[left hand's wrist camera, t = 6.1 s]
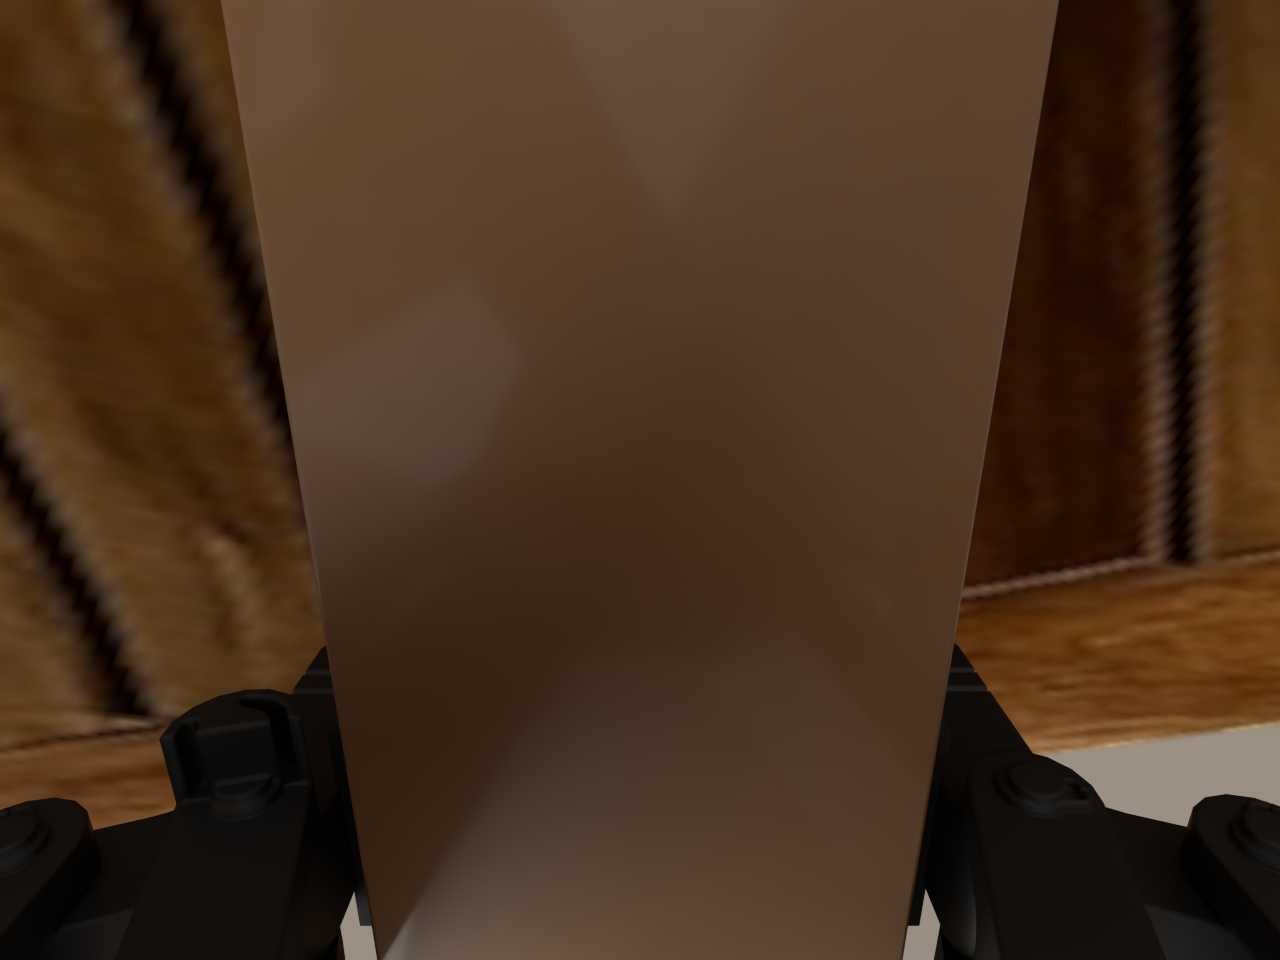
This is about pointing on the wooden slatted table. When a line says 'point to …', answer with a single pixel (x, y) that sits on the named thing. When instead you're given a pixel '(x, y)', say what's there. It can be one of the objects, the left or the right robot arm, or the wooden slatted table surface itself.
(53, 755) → the wooden slatted table surface
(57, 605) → the wooden slatted table surface
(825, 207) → the bar
